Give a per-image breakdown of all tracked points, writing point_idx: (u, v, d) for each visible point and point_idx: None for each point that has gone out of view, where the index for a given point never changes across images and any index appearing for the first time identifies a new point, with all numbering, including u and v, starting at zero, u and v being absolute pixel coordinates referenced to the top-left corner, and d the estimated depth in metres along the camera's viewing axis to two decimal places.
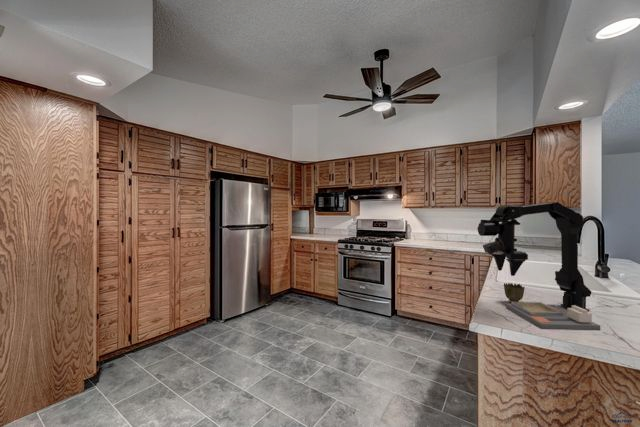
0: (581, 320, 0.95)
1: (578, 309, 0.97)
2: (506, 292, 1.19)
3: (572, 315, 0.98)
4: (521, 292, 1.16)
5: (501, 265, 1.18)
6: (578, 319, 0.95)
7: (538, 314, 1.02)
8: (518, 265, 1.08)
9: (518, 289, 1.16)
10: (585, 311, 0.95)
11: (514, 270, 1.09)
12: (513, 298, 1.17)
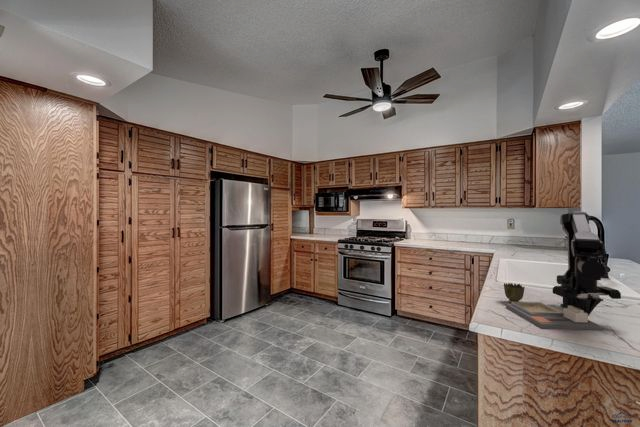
0: (577, 320, 0.95)
1: (574, 309, 0.97)
2: (506, 292, 1.19)
3: (568, 315, 0.98)
4: (521, 292, 1.16)
5: None
6: (574, 319, 0.95)
7: (538, 314, 1.02)
8: (584, 304, 0.96)
9: (518, 289, 1.16)
10: (581, 311, 0.95)
11: (582, 309, 0.97)
12: (513, 298, 1.17)
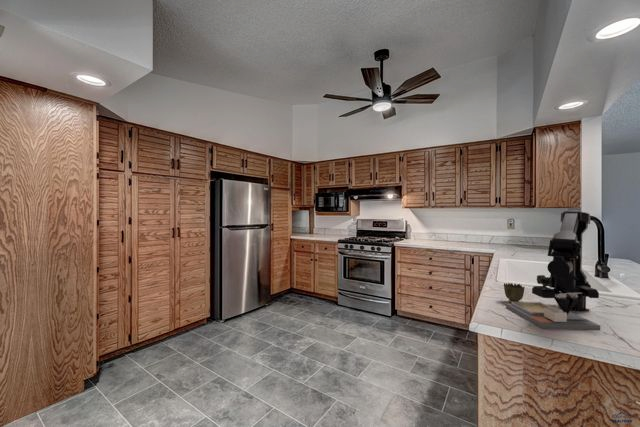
0: (556, 319, 0.95)
1: (554, 309, 0.97)
2: (506, 292, 1.19)
3: (548, 315, 0.98)
4: (521, 292, 1.16)
5: None
6: (553, 318, 0.96)
7: (538, 314, 1.02)
8: (563, 304, 0.96)
9: (518, 289, 1.16)
10: (560, 311, 0.95)
11: (561, 308, 0.98)
12: (513, 298, 1.17)
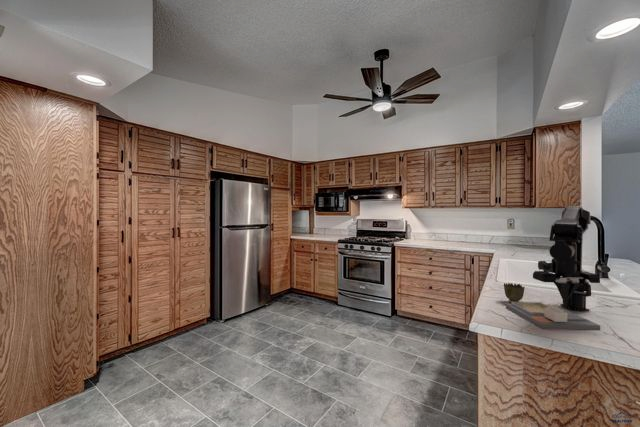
0: (557, 319, 0.95)
1: (554, 309, 0.97)
2: (506, 292, 1.19)
3: (548, 315, 0.98)
4: (521, 292, 1.16)
5: None
6: (554, 318, 0.96)
7: (538, 314, 1.02)
8: (563, 289, 0.96)
9: (518, 289, 1.16)
10: (561, 311, 0.95)
11: (561, 293, 0.97)
12: (513, 298, 1.17)
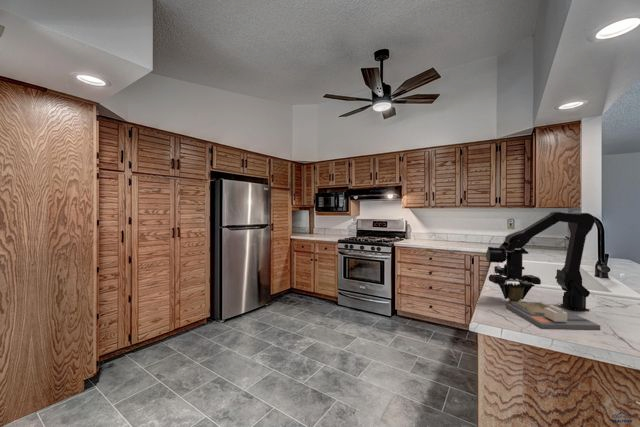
0: (557, 319, 0.95)
1: (554, 309, 0.97)
2: None
3: (548, 315, 0.98)
4: (521, 292, 1.16)
5: None
6: (554, 318, 0.96)
7: (538, 314, 1.02)
8: (504, 289, 1.18)
9: (518, 289, 1.16)
10: (561, 311, 0.95)
11: (503, 293, 1.20)
12: (513, 298, 1.17)
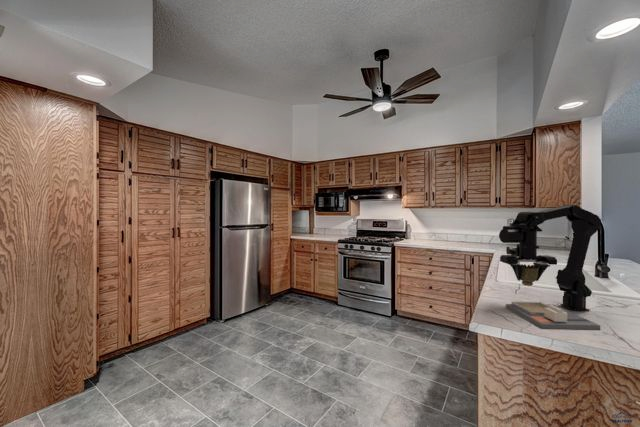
0: (557, 319, 0.95)
1: (554, 309, 0.97)
2: None
3: (548, 315, 0.98)
4: (535, 273, 1.08)
5: None
6: (554, 318, 0.96)
7: (538, 314, 1.02)
8: (517, 270, 1.11)
9: (532, 269, 1.08)
10: (561, 311, 0.95)
11: (516, 274, 1.12)
12: (526, 279, 1.09)
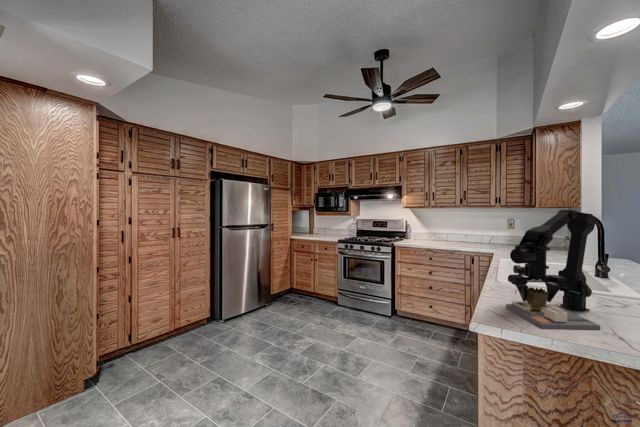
0: (557, 319, 0.95)
1: (554, 309, 0.97)
2: (527, 297, 1.07)
3: (548, 315, 0.98)
4: (545, 298, 1.04)
5: (549, 296, 1.06)
6: (554, 318, 0.96)
7: (538, 314, 1.02)
8: (522, 291, 1.06)
9: (541, 294, 1.04)
10: (561, 311, 0.95)
11: (521, 295, 1.08)
12: (535, 304, 1.05)
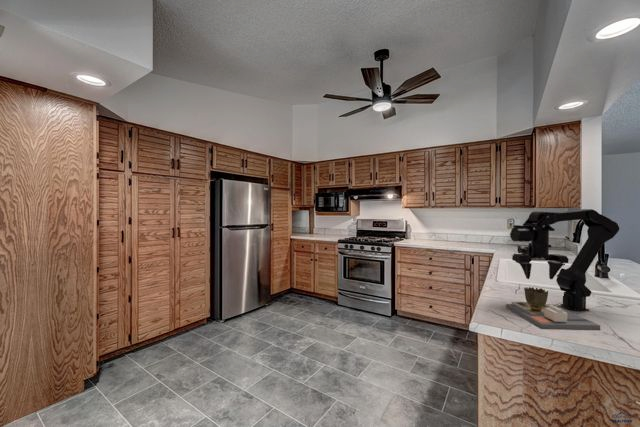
0: (557, 319, 0.95)
1: (554, 309, 0.97)
2: (527, 297, 1.07)
3: (548, 315, 0.98)
4: (545, 297, 1.04)
5: (551, 274, 1.13)
6: (554, 318, 0.96)
7: (538, 314, 1.02)
8: (526, 268, 1.13)
9: (541, 294, 1.04)
10: (561, 311, 0.95)
11: (525, 272, 1.14)
12: (535, 304, 1.05)
